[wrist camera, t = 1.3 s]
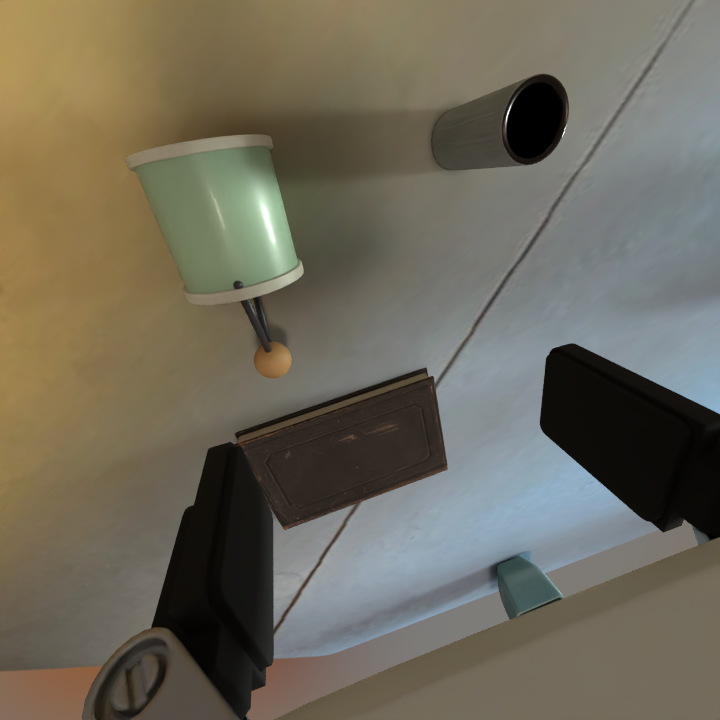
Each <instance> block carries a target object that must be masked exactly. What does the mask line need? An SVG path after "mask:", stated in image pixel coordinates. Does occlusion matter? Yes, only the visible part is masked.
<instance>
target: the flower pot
mask: <svg viewBox="0 0 720 720" xmlns="http://www.w3.org/2000/svg"><path fill="white" fill-rule="evenodd" d="M497 579H498V587H499V592H500V596H501V599H502V602H503V605H504V608H505V610H506V612H507V615H508V617H509V619H510V620H511V619H513V618H516V617H518V616H521V615H523V614H526V613H528V612H531V611H533V610H536V609H538V608H541V607H543V606H546V605H548V604H551V603H553V602H556V601H558V600H561V599H563V595H562V594H561V592H559V590H558V589H557V588H556V587H555V586H554V584H553V583H552V582H551V581H550V580H549V578H548V577H547V576H546V575H545V574H544V573H543V571H542V570H541V569H540V568H538V567H537V566H536V565H535V564H533V563H532V562H531V561H529V560H527V559H525V558H523V557H521V556H518V557H516V558H513V559H511V560H509V561H506V562H504V563H501V564H499V565H498V566H497Z"/></svg>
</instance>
